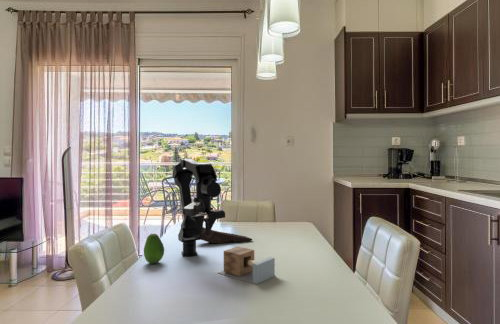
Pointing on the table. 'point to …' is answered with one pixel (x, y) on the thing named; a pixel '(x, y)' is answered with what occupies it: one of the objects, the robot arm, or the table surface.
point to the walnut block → (238, 261)
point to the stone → (221, 237)
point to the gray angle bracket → (257, 271)
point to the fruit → (153, 249)
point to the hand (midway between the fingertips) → (203, 234)
